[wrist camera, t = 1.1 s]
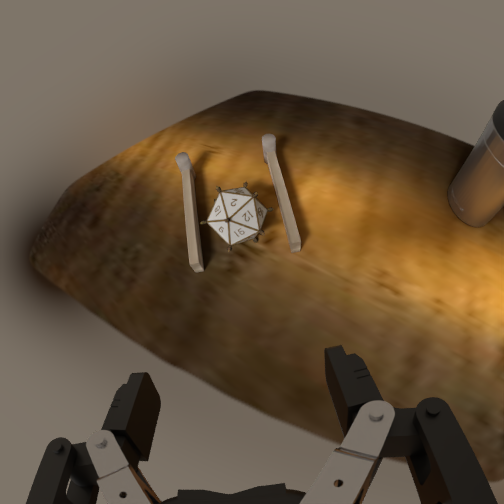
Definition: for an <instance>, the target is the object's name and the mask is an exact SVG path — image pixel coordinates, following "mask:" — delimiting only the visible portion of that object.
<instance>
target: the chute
mask: <svg viewBox="0 0 504 504" xmlns="http://www.w3.org/2000/svg"><path fill="white" fill-rule="evenodd" d="M262 144H263V153H264V161H265V163H266V164H268V166H269V170H270V174H271V177H272V181H273V185H274V188H275V192H276V196H277V199H278V203H279V207H280V211H281V214H282V218H283V222H284V226H285V230H286V233H287V237H288V241H289V245H290V249H291V253H294V252H298V251H300V248H301V239H300V236H299V232H298V229H297V225H296V221H295V218H294V214H293V211H292V207H291V204H290V200H289V197H288V194H287V190H286V187H285V183H284V180H283V177H282V173H281V170H280V167H279V164H278V160H277V156H276V139H275V136H274V135H272V134H266V135H264V136H263V137H262ZM175 160H176V162H177V164H178V167H179V169H180V171H181V173H182V182H183V196H184V209H185V221H186V232H187V243H188V253H189V262H190V266H191V267H192V268H193V270H194V271H195V272H201V271H204V265H203V257H202V249H201V240H200V232H199V223H198V214H197V205H196V195H195V185H194V179H195V178H196V174H195V171H194V169H193V166H192V164H191V161H190V159H189V156H188V154H187V153H185V152H182V153H179V154H178V155H177V156H176V158H175Z"/></svg>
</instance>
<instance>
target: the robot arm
mask: <svg viewBox="0 0 504 504" xmlns="http://www.w3.org/2000/svg"><path fill="white" fill-rule="evenodd" d="M448 200H449V203H450V206H451V208H452V210H453V211H454V213H455V214H456V215H457V216H458V217H459V218H460V219H461V220H462V221H463V222H465V223H466V224H468V225H470V226H473V227H481V226H484V225H485V224H487V223H488V222H489V221H490V220H491V219H492V218H493V217H494V215H495V214H496V213H497V212H498V211H499V210H500V209H501V208H502V207H503V206H504V100H503V101H501V102H500V103H499V104H498V106H497V108H496V110H495V111H494V113H493V115H492V117H491V119H490V121H489V122H488V124H487V126H486V128H485V130H484V131H483V133H482V135H481V137H480V138H479V140H478V142H477V143H476V145H475V147H474V148H473V150H472V152H471V153H470V155H469V157H468V158H467V160H466V161H465V163H464V165H463V166H462V168H461V169H460V171H459V172H458V174H457V175H456V177H455V178H454V180H453V182H452V183H451V185H450V186H449V188H448ZM324 352H325V374H326V381H327V385H328V389H329V392H330V395H331V398H332V401H333V404H334V407H335V410H336V413H337V416H338V419H339V422H340V426H341V429H342V432H343V435H344V438H345V439H344V441H343V443H342V444H341V446H340V447H339V448H338V449H337V448H336V449H335V450H334V451H333V452H332V454H331V456H330V457H329V459H328V461H327V462H326V464H325V465H324V467H323V469H322V470H321V472H320V474H319V475H318V477H317V478H316V480H315V481H314V483H313V485H312V486H311V487H310V489H309V490H308V492H307V493H305V492H301V491H297V490H290V489H286V487H285V483H282V484H275V485H267V486H258V487H254V488H252V489H248V490H245V491H241V492H238V493H234V494H223V493H217V492H212V491H207V490H178V496H176V497H173V498H170V499H167V500H165V501H163V502H162V501H161V500H160V499H159V498H158V496H157V495H156V493H155V492H154V490H153V489H152V487H151V486H150V484H149V483H148V481H147V480H146V478H145V476H144V475H143V473H142V472H141V470H140V469H139V468H138V463H139V461H148V459H149V454H150V450H151V446H152V441H153V437H154V433H155V428H156V424H157V420H158V416H159V412H160V407H161V401H160V396H159V394H158V392H157V390H156V388H155V386H154V384H153V382H152V380H151V378H150V375H149V374H148V373H147V372H145V373H132V374H131V375H130V377H129V380H128V382H127V384H123V385H122V386H121V387H120V388H119V389H118V390H117V391H116V394H115V396H114V399H113V402H112V404H111V408H110V409H109V411H108V414H107V416H106V419H105V421H104V424H103V427H102V429H101V430H99V431H96V432H94V433H93V434H91V435H90V436H89V438H88V439H87V442H83V443H79V444H71V443H70V441H68V440H67V439H66V438H56V439H54V440H52V441H51V442H50V443H49V444H48V446H47V448H46V451H45V453H44V456H43V458H42V461H41V463H40V466H39V468H38V471H37V474H36V476H35V479H34V482H33V485H32V487H31V491H30V493H29V496H28V499H27V502H26V504H96V501H97V496H98V492H99V488H100V490H101V492H102V494H103V496H104V498H105V500H106V502H107V504H362V502H363V501H364V498H365V496H366V494H367V491H368V489H369V487H370V485H371V483H372V481H373V479H374V477H375V475H376V473H377V470H378V468H379V466H380V464H381V462H382V459H383V457H404V456H405V457H406V460H407V463H408V466H409V469H410V472H411V474H412V477H413V480H414V483H415V486H416V489H417V492H418V495H419V498H420V501H421V504H498V503H497V501H496V499H495V497H494V494H493V492H492V490H491V488H490V485H489V483H488V481H487V479H486V477H485V475H484V472H483V470H482V468H481V466H480V464H479V462H478V460H477V458H476V456H475V454H474V452H473V450H472V448H471V446H470V444H469V442H468V440H467V438H466V437H465V435H464V433H463V431H462V429H461V427H460V425H459V423H458V422H457V420H456V418H455V416H454V414H453V413H452V411H451V409H450V407H449V405H448V404H447V403H446V402H445V401H444V400H442V399H440V398H435V397H432V398H426V399H424V400H422V401H421V402H420V403H419V404H418V405H417V407H416V408H405V409H399V408H394V407H392V406H391V405H390V404H389V403H387V402H385V401H384V400H383V399H382V397H381V395H380V392H379V390H378V388H377V386H376V384H375V382H374V380H373V378H372V376H371V375H370V372H369V370H368V369H367V366H366V365H365V363H364V361H363V359H362V358H360V357H359V356H358V355H356V354H355V353H354V354H350V355H346V353H345V351H344V349H343V347H342V345H339V346H334V347H329V348H325V351H324ZM69 478H70V479H71V481H70V484H69V488H68V491H67V495H66V488H67V485H68V481H69Z"/></svg>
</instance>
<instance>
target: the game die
mask: <svg viewBox="0 0 504 504" xmlns="http://www.w3.org/2000/svg"><path fill="white" fill-rule="evenodd" d="M246 187H247V182H245V183H244V187H241V188H235V189H229V190H223V191H221V188H220V187H218V186H216V190H217V191H218V192H219V194H218V196H217V198H216V199H214V205H213V207H212V209H211V212H210V214H209V216H208V218H207V220H206V221H205V220H204V221H203V220H202V222H201V223H200V224H206V223H207V224H208V225H209V226H210V227H211V228H212V229H213V230H214V231H215V232H216V233H217V234H218V235H219V236H220V237H221V238H222V239H223V240H224V241H225V242H226V243H227V244H228V245H229V247H228V249H227V250H228V253H229V252H230V251H231V249H232V248H231V246H233V245H236V244H239V243H242V242H245V241H248V240H251V239H253V241H254V242H256V243H257V239H256V238H255V237H256V236H257V235H258V233H260V234H261V235H265V234H264V231H263V230H261V228H262V226H263V223H264V220H265V218H266V215H267V212H268V211H272V210H273V208H268V209H267V208H266V207H265V206H264V205H263V204H262V203H261V202H260V201H259V200H258V199H257V198H256V197H257V196H258V192H254V194H252V193H251V192H250V191H249V190H248V189H247V188H246Z"/></svg>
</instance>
